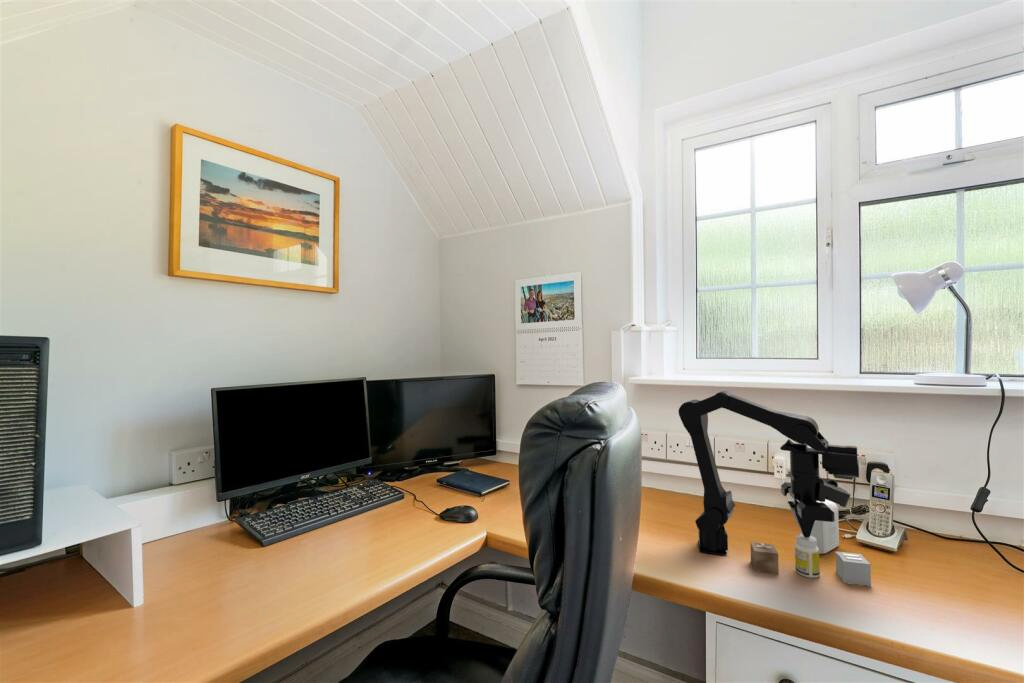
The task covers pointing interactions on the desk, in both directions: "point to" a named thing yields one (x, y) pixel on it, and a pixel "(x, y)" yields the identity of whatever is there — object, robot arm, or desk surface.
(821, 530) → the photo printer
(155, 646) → the desk surface
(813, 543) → the supplement bottle
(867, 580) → the grey block
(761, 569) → the walnut block
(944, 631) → the desk surface
